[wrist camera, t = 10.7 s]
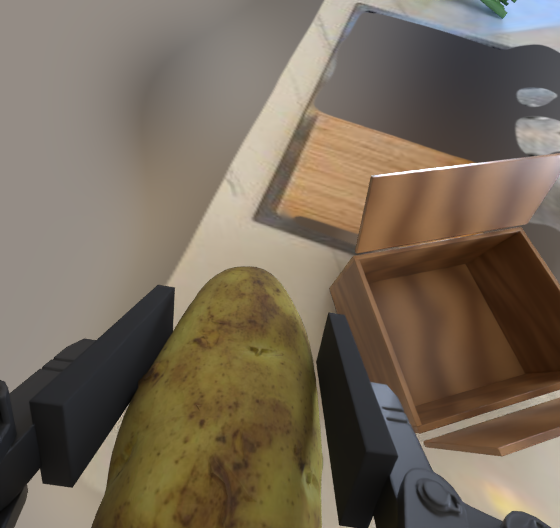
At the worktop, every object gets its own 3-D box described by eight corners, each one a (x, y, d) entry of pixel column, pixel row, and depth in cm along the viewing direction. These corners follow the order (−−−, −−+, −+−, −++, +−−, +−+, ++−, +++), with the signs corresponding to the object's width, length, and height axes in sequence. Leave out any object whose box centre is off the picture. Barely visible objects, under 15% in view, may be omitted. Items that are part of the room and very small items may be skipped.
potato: (353, 331, 17) (429, 281, 10) (259, 621, 11) (274, 1010, 4) (229, 274, 18) (214, 189, 10) (86, 519, 12) (-153, 696, 5)
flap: (373, 177, 23) (370, 175, 23) (356, 253, 28) (354, 251, 28) (574, 153, 27) (570, 151, 27) (527, 224, 32) (524, 222, 32)
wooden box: (375, 432, 30) (508, 472, 15) (329, 288, 37) (387, 209, 21) (531, 385, 34) (767, 376, 19) (464, 262, 41) (596, 179, 25)
